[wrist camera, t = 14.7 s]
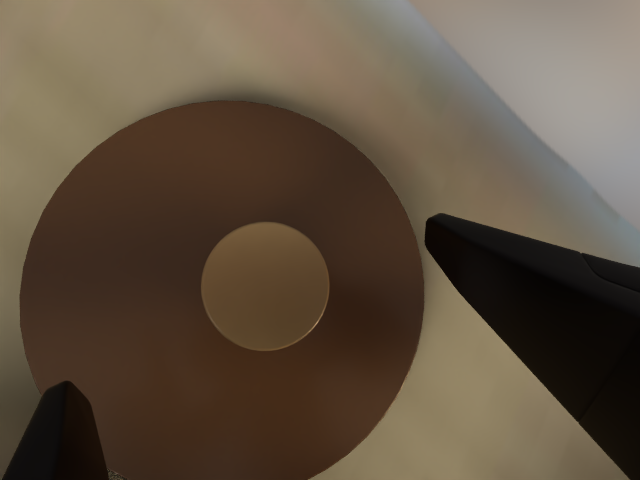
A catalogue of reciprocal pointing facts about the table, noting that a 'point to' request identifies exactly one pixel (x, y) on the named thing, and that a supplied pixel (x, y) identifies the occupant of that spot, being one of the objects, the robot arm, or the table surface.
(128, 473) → the lid
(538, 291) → the robot arm
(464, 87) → the table surface
